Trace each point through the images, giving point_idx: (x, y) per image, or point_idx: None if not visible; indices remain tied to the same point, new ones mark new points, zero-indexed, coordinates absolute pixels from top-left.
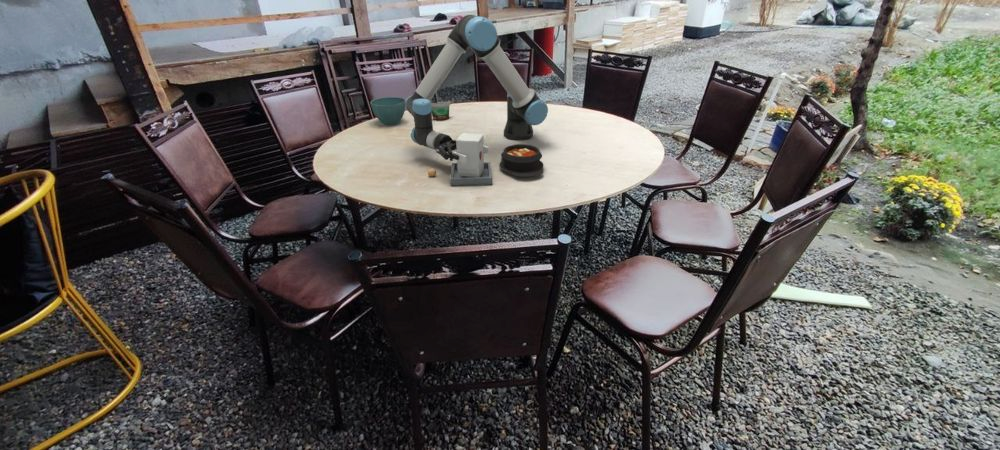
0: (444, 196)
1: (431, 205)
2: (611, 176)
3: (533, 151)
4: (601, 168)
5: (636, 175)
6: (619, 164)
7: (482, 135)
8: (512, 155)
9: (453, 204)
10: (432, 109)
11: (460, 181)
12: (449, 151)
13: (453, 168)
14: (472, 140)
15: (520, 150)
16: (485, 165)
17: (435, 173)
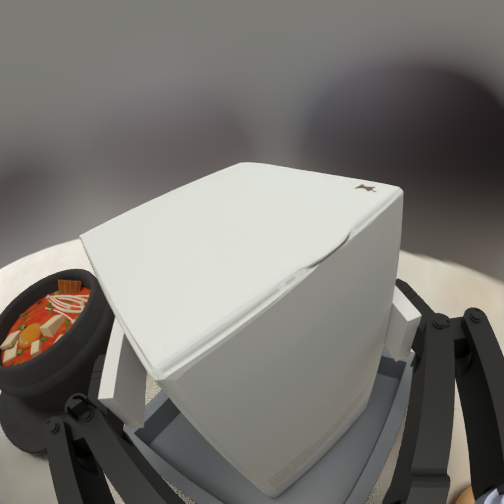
0: (445, 312)
1: (478, 279)
2: (56, 258)
3: (14, 325)
4: (29, 280)
5: (45, 250)
6: (12, 279)
7: (107, 222)
8: (91, 293)
9: (421, 269)
10: None
11: None
12: (449, 349)
13: (361, 481)
14: (263, 166)
15: (14, 352)
16: (149, 447)
17: (460, 495)
